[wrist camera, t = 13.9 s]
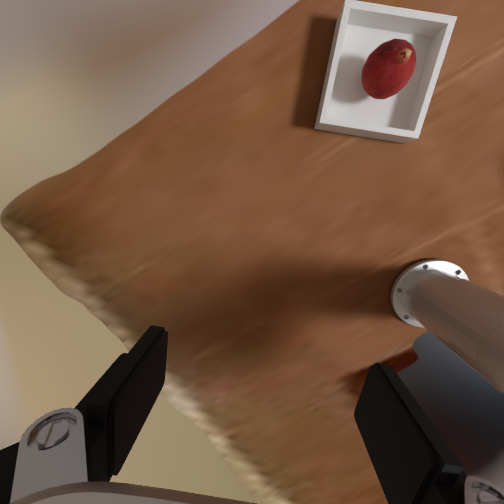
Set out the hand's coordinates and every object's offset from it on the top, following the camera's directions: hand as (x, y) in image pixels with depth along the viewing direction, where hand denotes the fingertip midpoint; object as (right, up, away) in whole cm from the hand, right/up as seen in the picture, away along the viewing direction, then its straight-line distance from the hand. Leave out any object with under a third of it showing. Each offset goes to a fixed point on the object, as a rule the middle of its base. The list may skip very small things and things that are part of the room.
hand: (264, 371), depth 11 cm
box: (+17, +29, +23) cm, 41 cm away
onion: (+17, +29, +22) cm, 40 cm away
